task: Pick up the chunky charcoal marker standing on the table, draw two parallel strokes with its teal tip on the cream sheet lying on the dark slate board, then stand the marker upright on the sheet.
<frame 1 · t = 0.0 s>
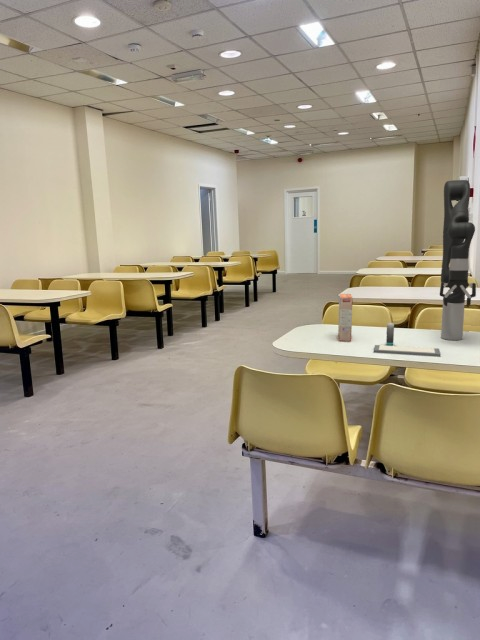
hand: (456, 306, 205), 17 cm above the table, tool pointing down, fingers open, 8 cm apart
cracker box: (344, 338, 225), on the table
marker: (389, 345, 209), on the table
drawing board: (406, 351, 197), on the table
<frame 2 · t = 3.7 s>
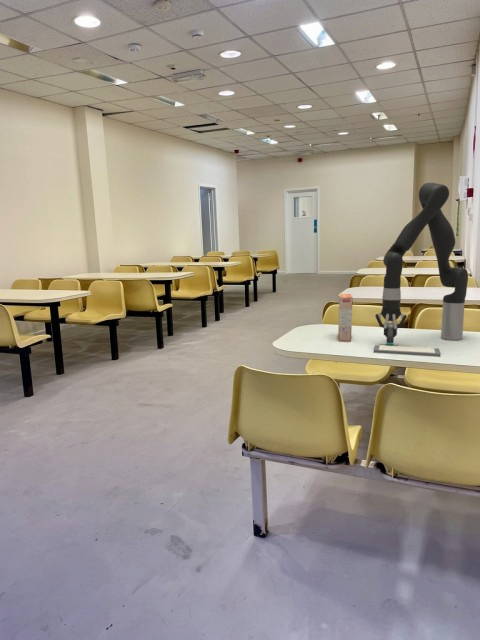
hand: (390, 336, 208), 4 cm above the table, tool pointing down, fingers closed on marker, 3 cm apart
marker: (389, 345, 209), on the table, touching gripper
everything else where it was.
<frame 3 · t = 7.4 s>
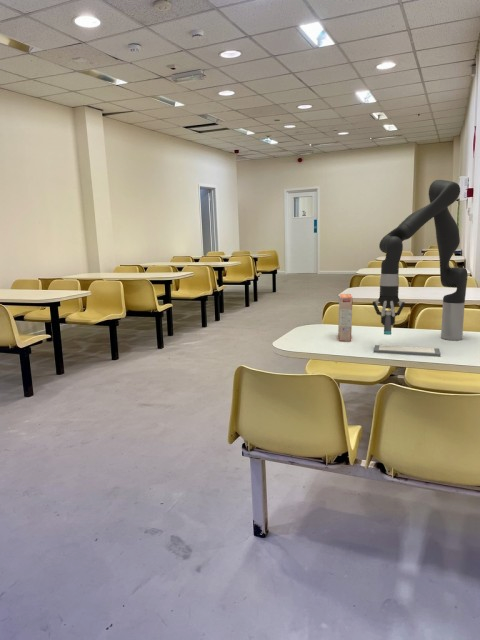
hand: (387, 324, 199), 11 cm above the table, tool pointing down, fingers closed on marker, 3 cm apart
marker: (387, 334, 200), point 7 cm above the table, touching gripper
everything else where it was.
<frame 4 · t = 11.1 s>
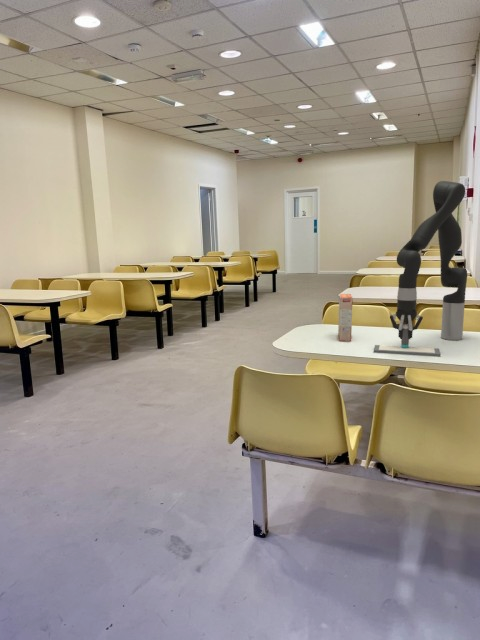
hand: (405, 338, 198), 5 cm above the table, tool pointing down, fingers closed on marker, 3 cm apart
marker: (404, 347, 199), point 1 cm above the table, touching drawing board, gripper
everything else where it was.
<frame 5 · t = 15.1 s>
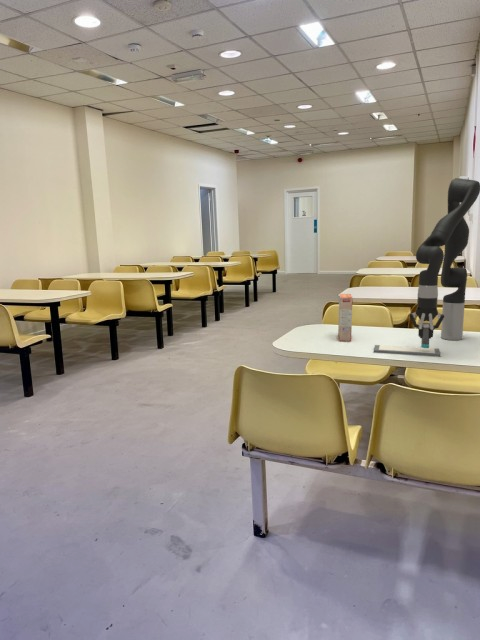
hand: (425, 337, 191), 7 cm above the table, tool pointing down, fingers closed on marker, 3 cm apart
marker: (425, 347, 192), point 3 cm above the table, touching gripper
everything else where it was.
when the fingers open (6 cm above the table, at t = 18.7 s): marker stays where it is, resting on drawing board.
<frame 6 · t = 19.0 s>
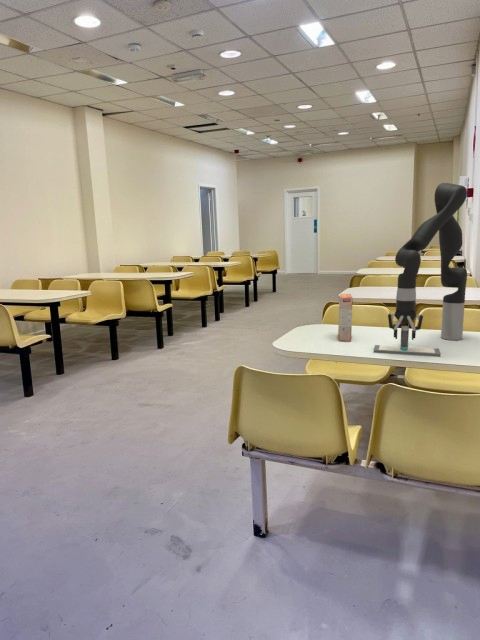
hand: (404, 338, 195), 6 cm above the table, tool pointing down, fingers open, 6 cm apart
marker: (404, 349, 195), point 1 cm above the table, touching drawing board
everything else where it was.
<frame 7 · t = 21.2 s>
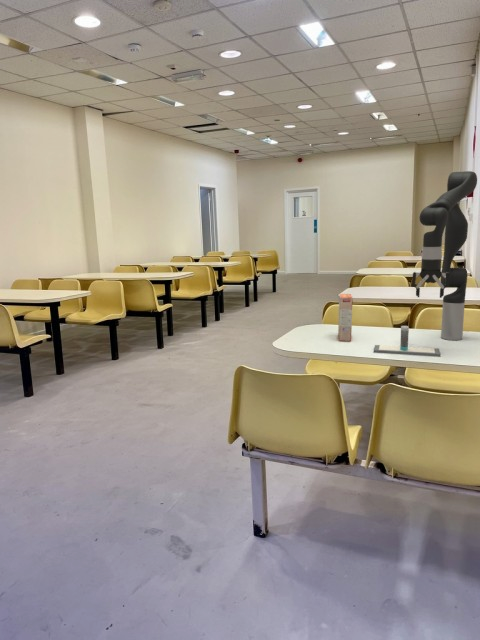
hand: (429, 297, 193), 23 cm above the table, tool pointing down, fingers open, 8 cm apart
nothing on the table moved.
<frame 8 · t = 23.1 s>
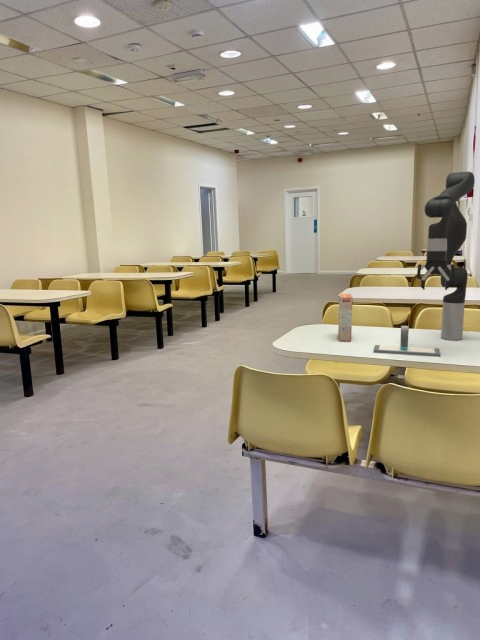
hand: (434, 289, 193), 26 cm above the table, tool pointing down, fingers open, 8 cm apart
nothing on the table moved.
at the end: marker inside the target area on the drawing board (2.3 cm from its centre), point 1.2 cm above the drawing board's base; marker tilted 1°; the gripper is holding nothing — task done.
